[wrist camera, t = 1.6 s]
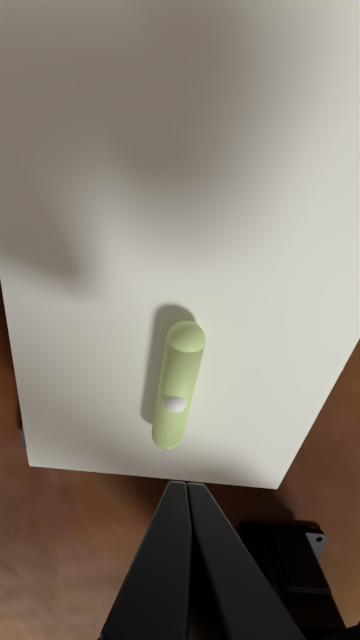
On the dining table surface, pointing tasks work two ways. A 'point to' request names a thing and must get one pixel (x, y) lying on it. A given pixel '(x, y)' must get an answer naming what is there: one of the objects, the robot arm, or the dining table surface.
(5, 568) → the dining table surface
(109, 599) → the dining table surface
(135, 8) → the leveling deck
